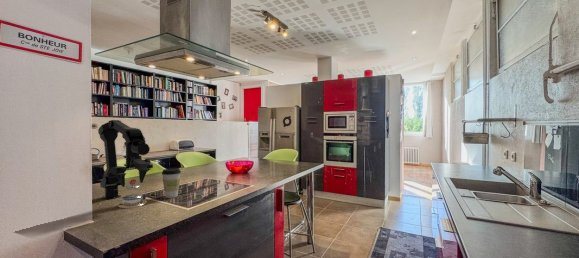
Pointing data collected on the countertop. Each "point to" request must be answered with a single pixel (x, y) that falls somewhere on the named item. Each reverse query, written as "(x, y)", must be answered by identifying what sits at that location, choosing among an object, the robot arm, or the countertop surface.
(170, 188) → the coffee cup
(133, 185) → the plunger
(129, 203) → the press pot
